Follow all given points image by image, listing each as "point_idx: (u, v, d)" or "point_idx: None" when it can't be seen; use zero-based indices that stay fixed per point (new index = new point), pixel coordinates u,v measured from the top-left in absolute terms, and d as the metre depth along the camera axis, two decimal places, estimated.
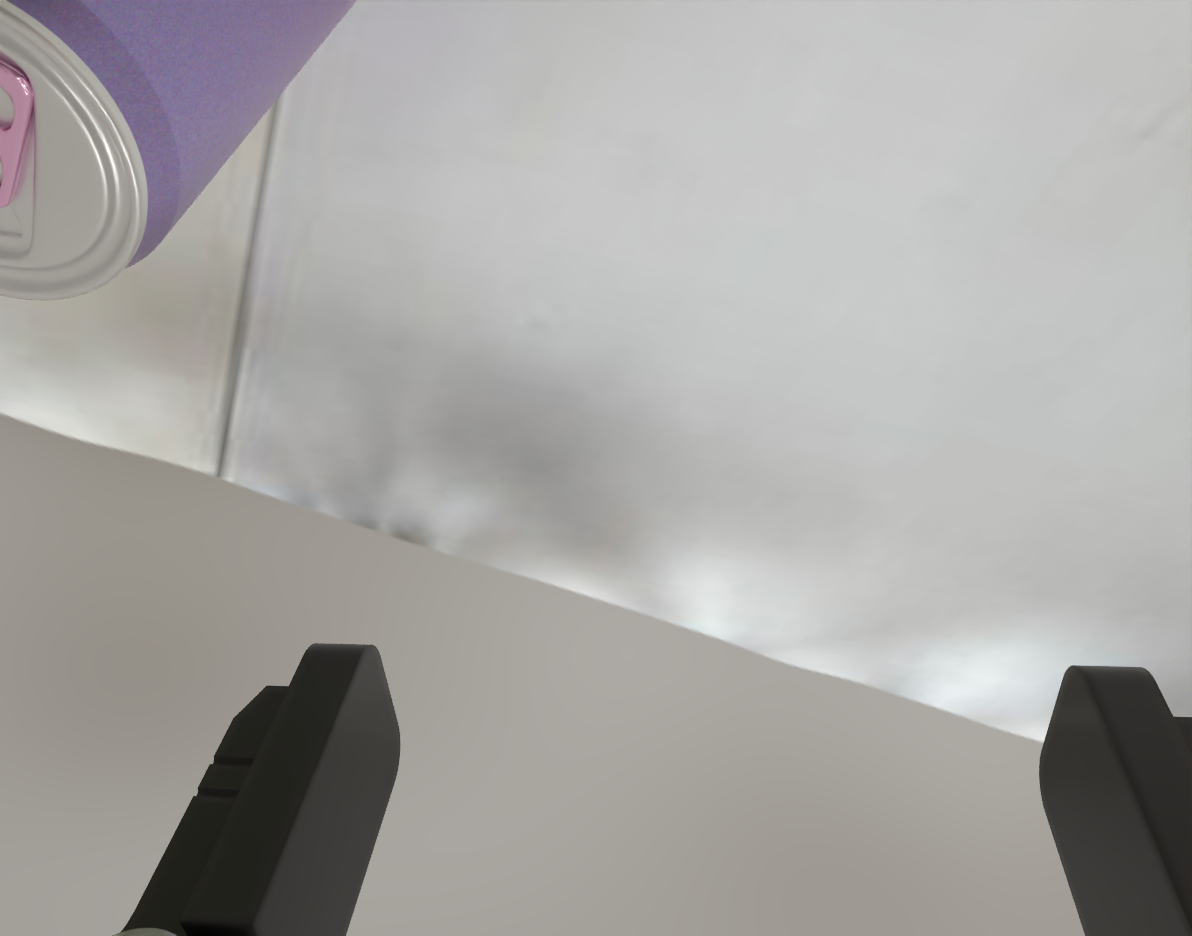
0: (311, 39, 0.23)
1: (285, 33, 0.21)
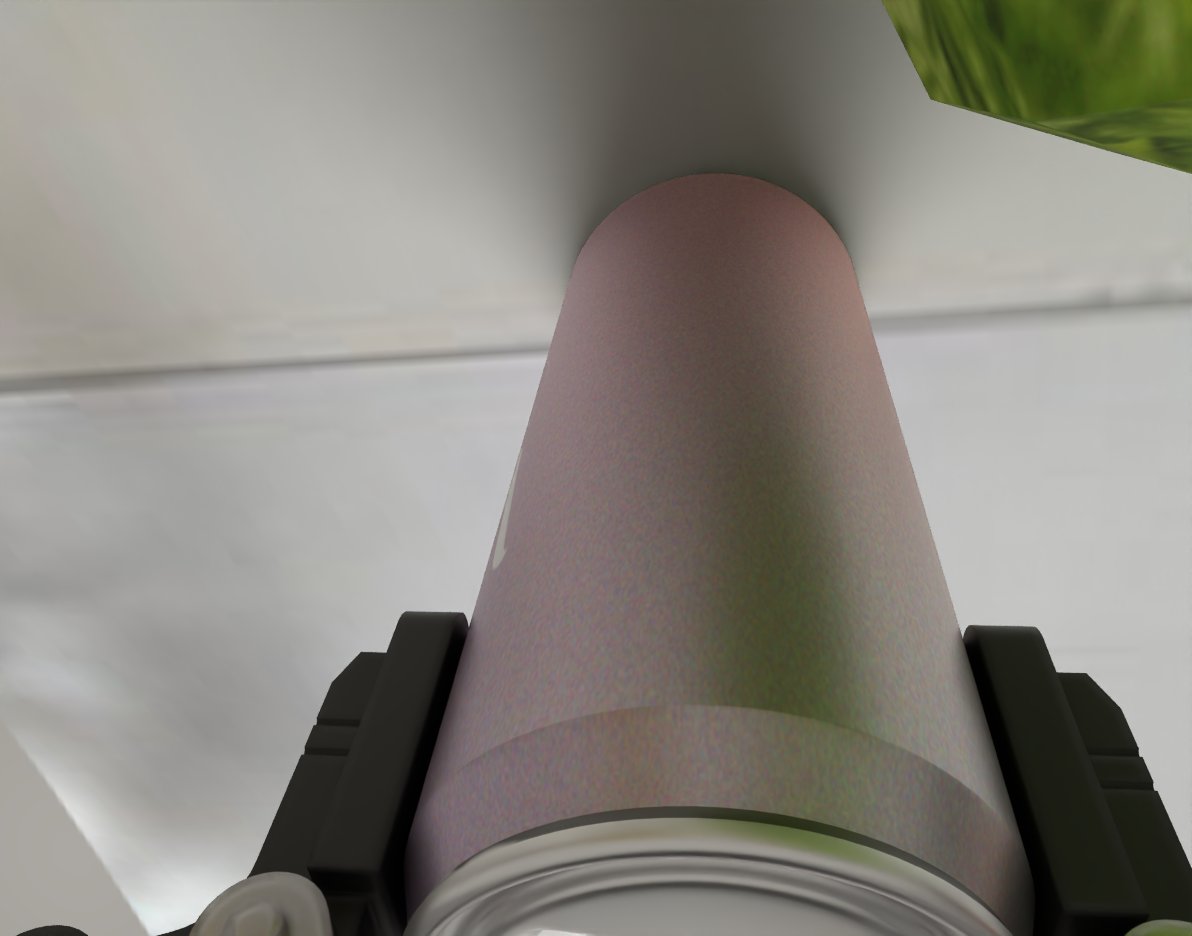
0: None
1: None
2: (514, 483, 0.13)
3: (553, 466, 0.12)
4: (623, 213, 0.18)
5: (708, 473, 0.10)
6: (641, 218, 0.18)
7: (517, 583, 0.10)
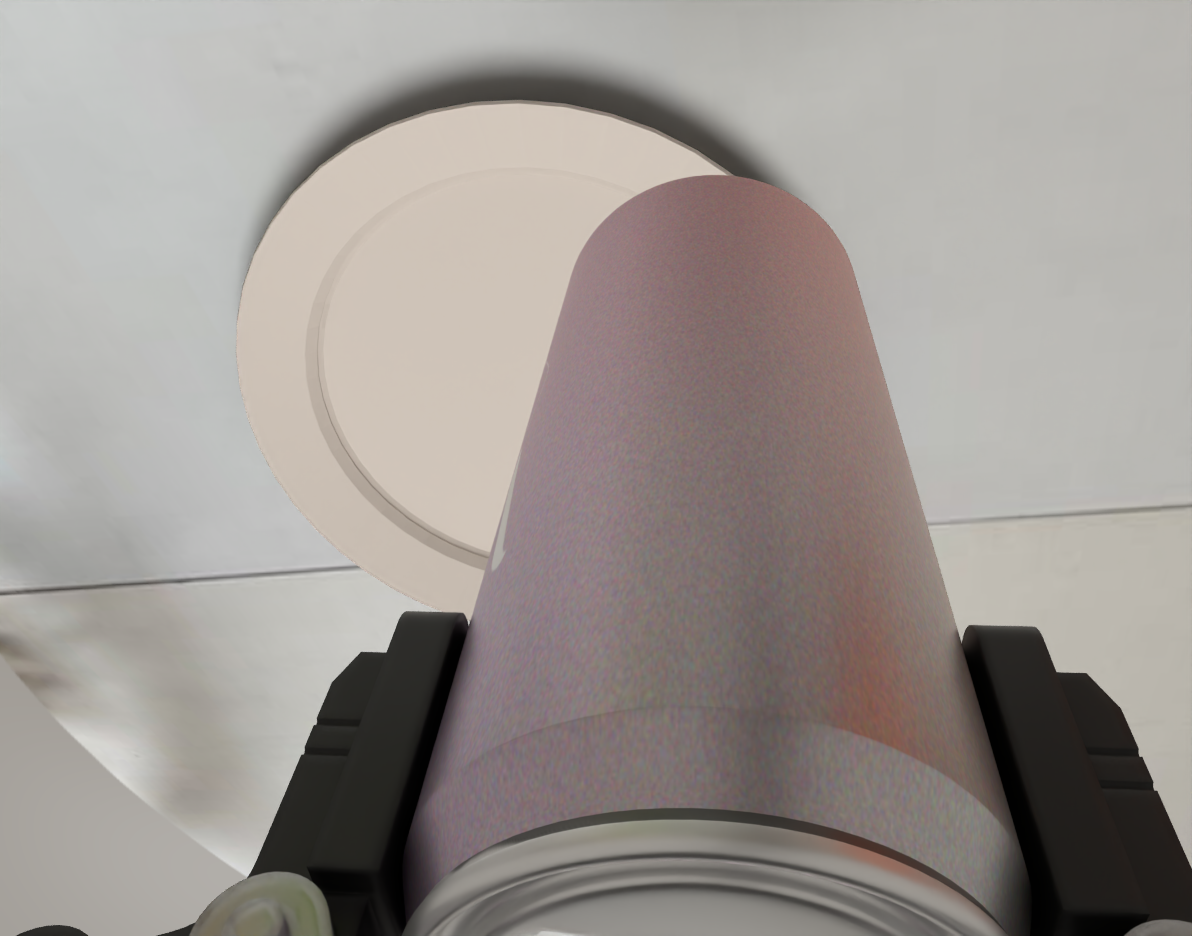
0: None
1: None
2: (513, 485, 0.13)
3: (551, 467, 0.12)
4: (623, 214, 0.18)
5: (706, 476, 0.10)
6: (641, 219, 0.18)
7: (516, 586, 0.10)
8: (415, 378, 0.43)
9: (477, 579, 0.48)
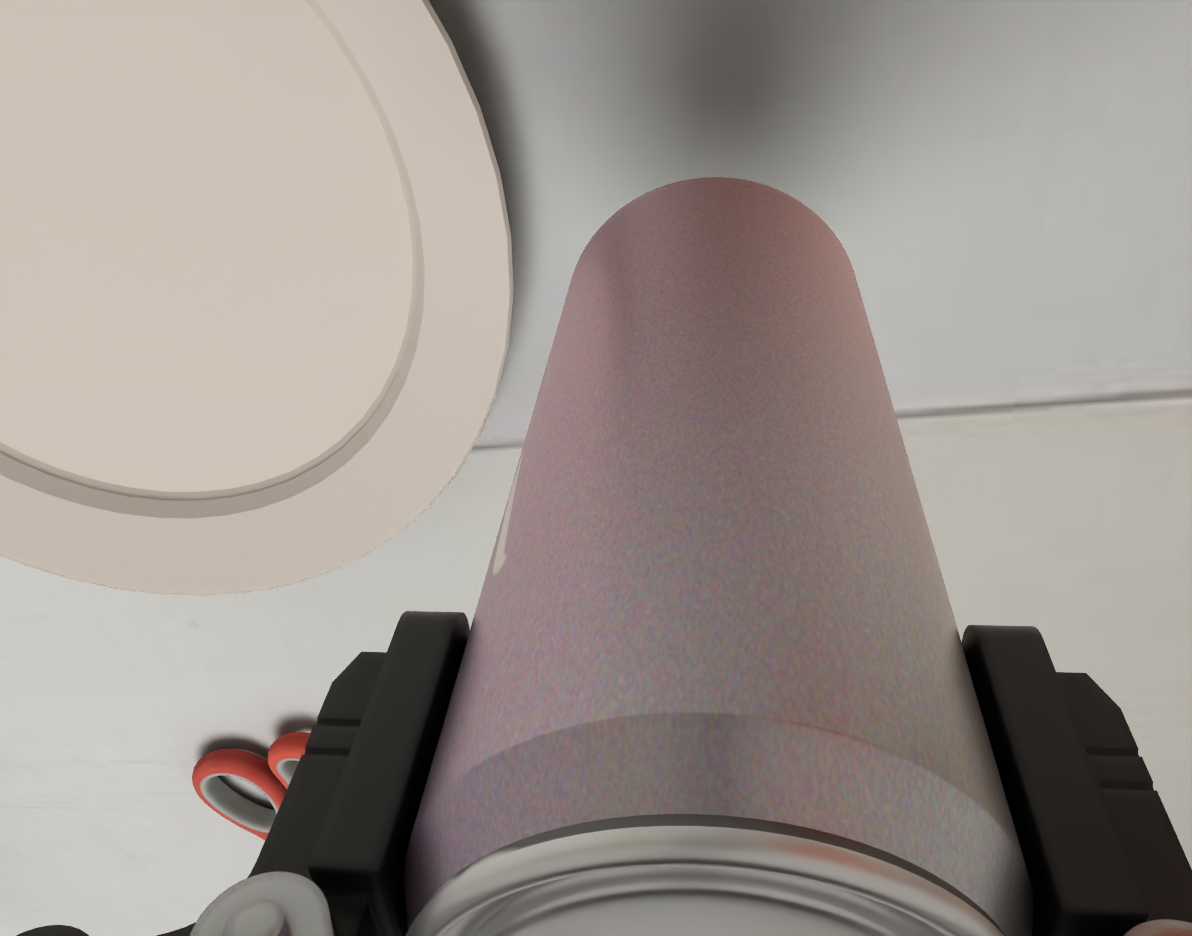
0: None
1: None
2: (515, 488, 0.13)
3: (553, 471, 0.12)
4: (624, 217, 0.18)
5: (708, 481, 0.10)
6: (641, 222, 0.18)
7: (517, 591, 0.10)
8: None
9: (56, 512, 0.33)
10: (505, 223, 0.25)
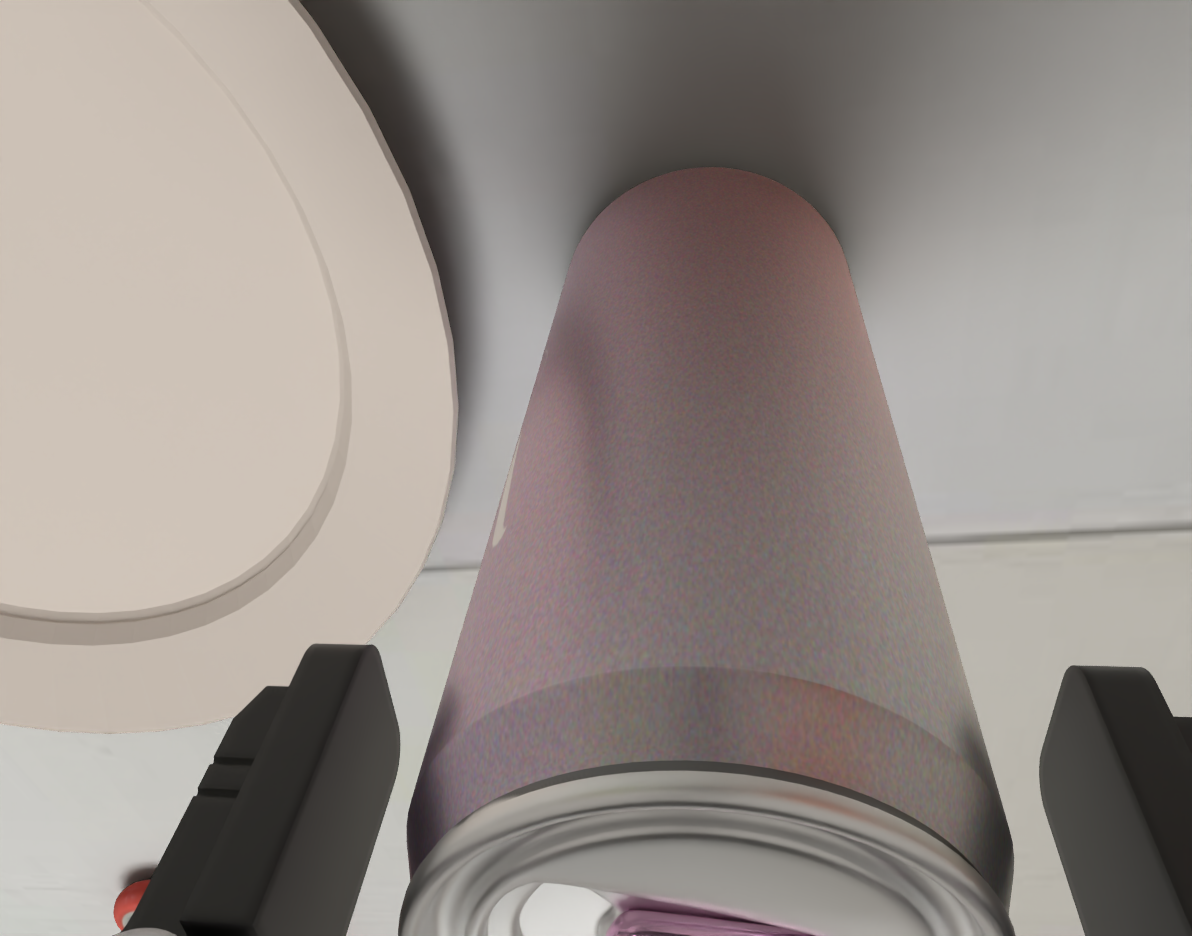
0: None
1: None
2: (513, 466, 0.13)
3: (551, 447, 0.12)
4: (620, 206, 0.19)
5: (701, 453, 0.11)
6: (638, 210, 0.18)
7: (516, 559, 0.11)
8: None
9: None
10: (444, 329, 0.20)
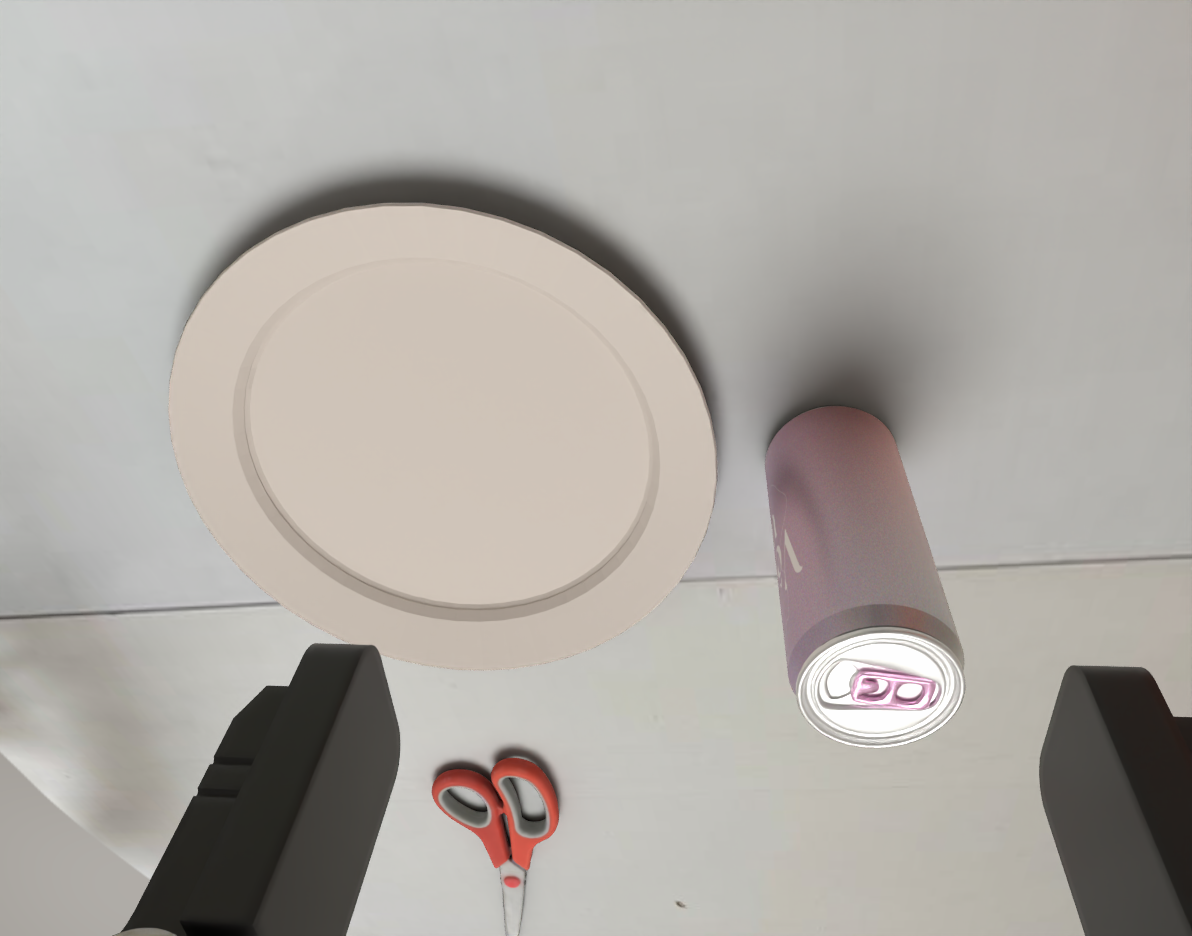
0: None
1: None
2: (790, 543, 0.38)
3: (812, 539, 0.37)
4: (800, 423, 0.43)
5: (870, 544, 0.35)
6: (811, 429, 0.42)
7: (814, 576, 0.35)
8: (334, 435, 0.47)
9: (390, 617, 0.52)
10: (715, 472, 0.44)
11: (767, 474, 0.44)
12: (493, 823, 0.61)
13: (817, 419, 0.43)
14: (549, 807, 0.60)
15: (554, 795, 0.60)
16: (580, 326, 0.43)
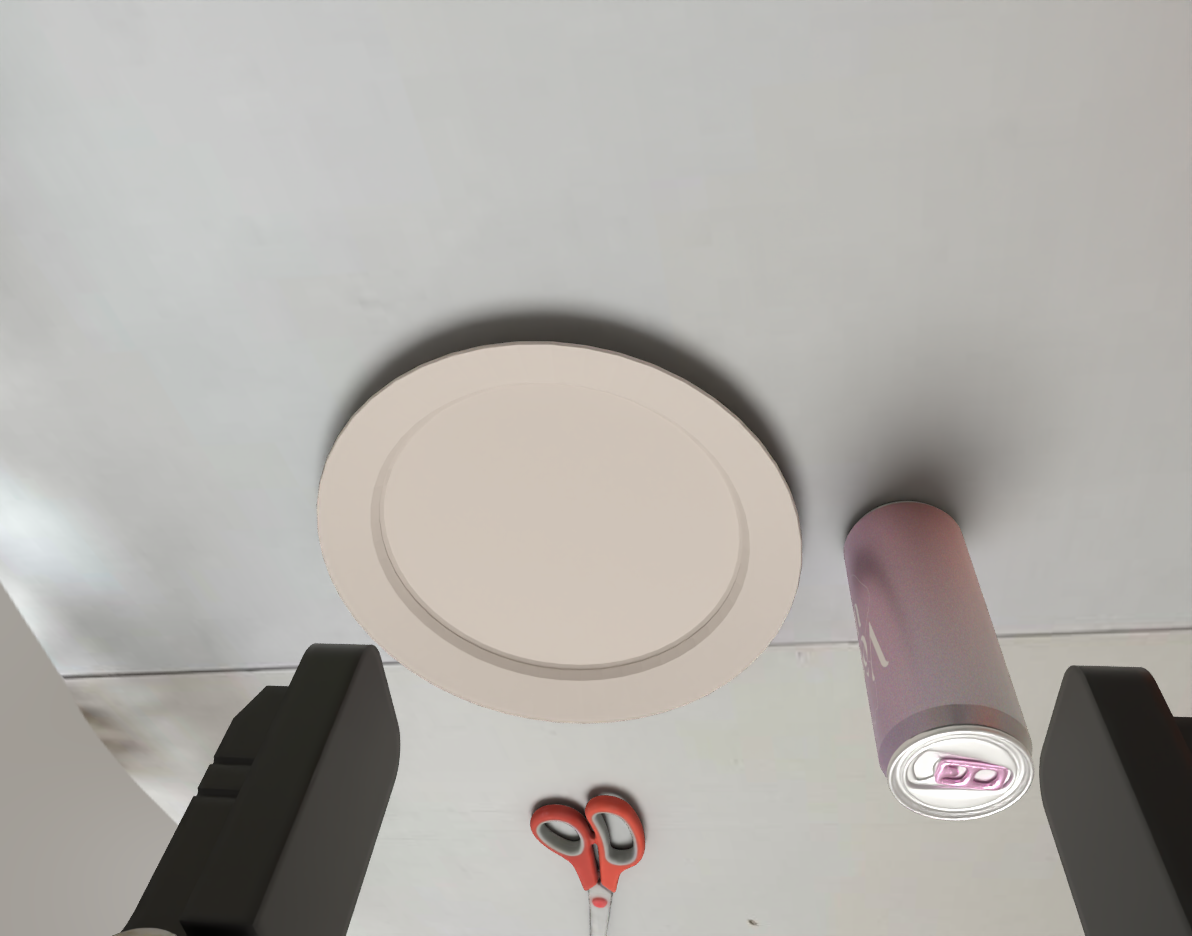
0: None
1: None
2: (875, 637, 0.43)
3: (896, 636, 0.42)
4: (877, 518, 0.49)
5: (948, 645, 0.41)
6: (888, 525, 0.48)
7: (900, 673, 0.41)
8: (458, 524, 0.53)
9: (502, 677, 0.58)
10: (801, 560, 0.50)
11: (847, 562, 0.50)
12: (585, 852, 0.67)
13: (893, 515, 0.48)
14: (637, 839, 0.66)
15: (641, 828, 0.66)
16: (682, 435, 0.49)
